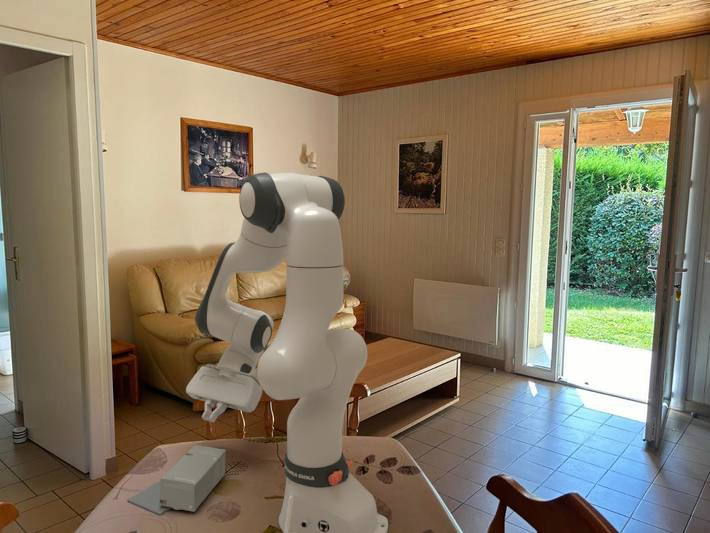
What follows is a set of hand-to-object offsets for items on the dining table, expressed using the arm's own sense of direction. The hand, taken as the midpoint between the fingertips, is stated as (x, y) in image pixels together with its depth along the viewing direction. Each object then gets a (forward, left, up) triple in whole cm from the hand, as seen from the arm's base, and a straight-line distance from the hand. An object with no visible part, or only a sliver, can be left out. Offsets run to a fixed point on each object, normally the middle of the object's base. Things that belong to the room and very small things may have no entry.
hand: (207, 420), depth 126 cm
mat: (0, +11, -12) cm, 17 cm away
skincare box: (-2, +1, -9) cm, 9 cm away
